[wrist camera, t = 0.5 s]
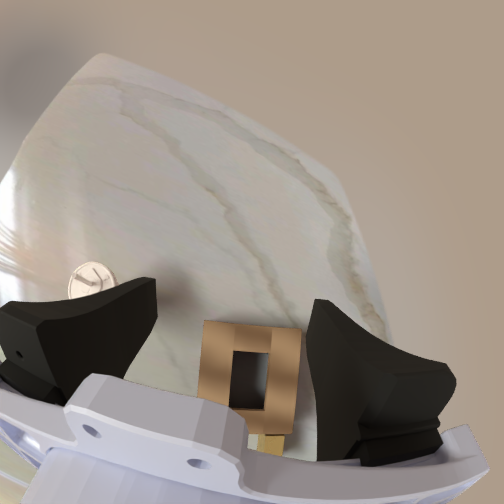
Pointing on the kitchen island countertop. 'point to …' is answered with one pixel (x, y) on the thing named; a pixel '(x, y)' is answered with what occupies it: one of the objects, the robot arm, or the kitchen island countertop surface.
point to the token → (271, 443)
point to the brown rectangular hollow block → (278, 372)
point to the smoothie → (90, 280)
